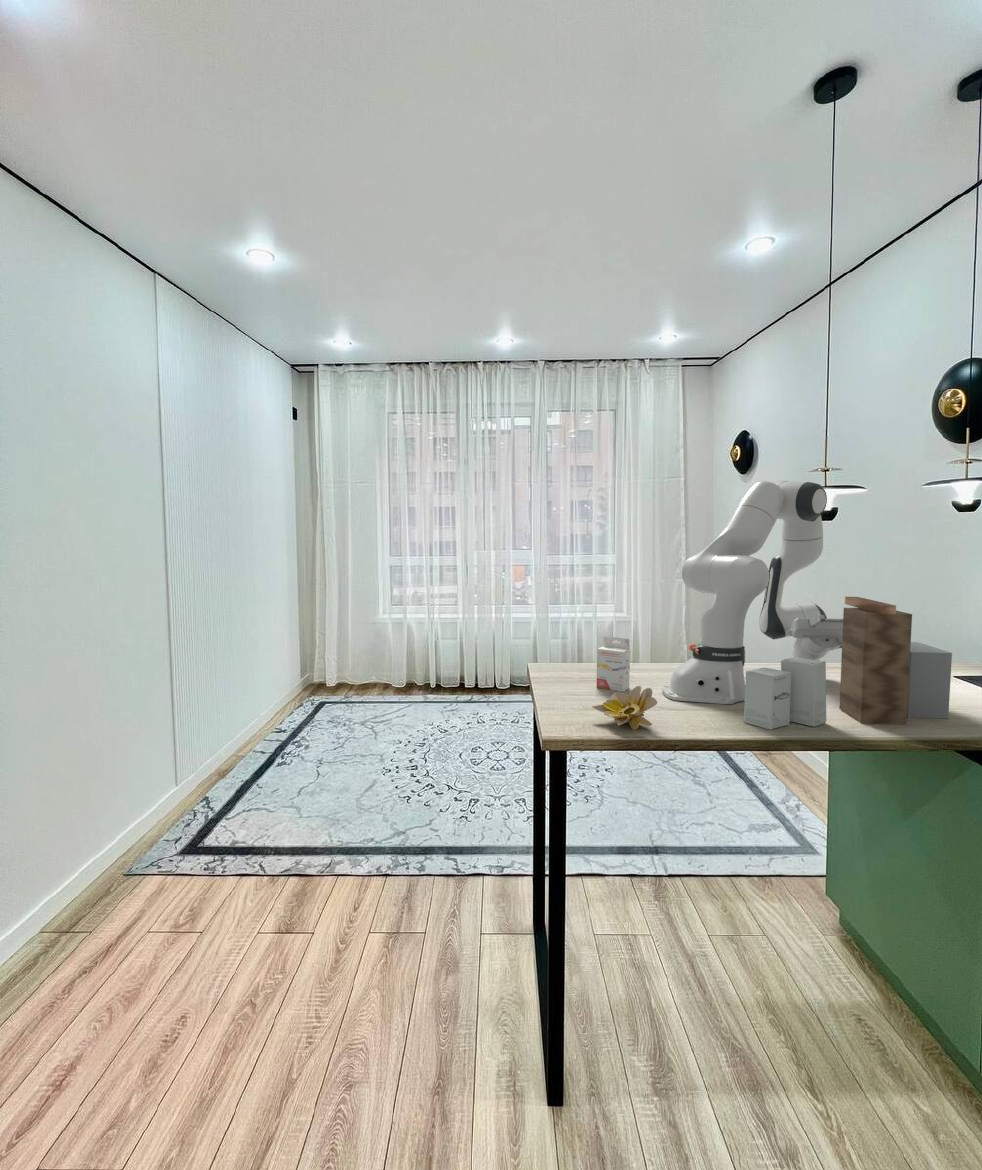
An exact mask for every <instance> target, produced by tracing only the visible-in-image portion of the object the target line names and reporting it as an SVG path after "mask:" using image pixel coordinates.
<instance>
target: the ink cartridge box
mask: <svg viewBox="0 0 982 1170" xmlns="http://www.w3.org/2000/svg"><path fill="white" fill-rule="evenodd" d="M616 641H617V642H620V643H616ZM596 651H597V653H596V688H597V689H604V690H609V689H610V691H615V690H617V691H616V692H622V691H624V692H625V691H626V690H628V689H630V676H631V675H630V671H631V670H630V669H631V668H630V667H631V664H630V663H631V661H630V660H631V659H630V658H631V649H630V639H629V638H628V637H627V638H626V637H624V638H623V637H619V636H618V637H617V636H615V637H614V636H606V635H604V636H603V646H601V647H598V648H597V650H596Z"/></svg>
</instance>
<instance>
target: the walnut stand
mask: <svg viewBox="0 0 982 1170" xmlns="http://www.w3.org/2000/svg"><path fill="white" fill-rule="evenodd" d="M842 617H843V618H842V619H843V635H842V648H841V660H840V661H841V662H840V682H839V683H840V685H839V688H840V689H839V706H838V707H839V710H840V709H841V710H840V711H842V712H844V713H845V714H846V715H848V716H849V717H851V718H852V719H853V720H855V721H857V722H858V723H860V724H874V725H877V724H878V725H900V726H901V725H902V726H903V725H904V726H905V725H907V722H908V717H907V705H908V686H909V666H910V647H911V642H912V624H913V623H912V622H913V613H908V612H904V611H900V610H896V614H880V613H876V612H873V611H869V610H865V609H861V608H857V607H843V615H842Z"/></svg>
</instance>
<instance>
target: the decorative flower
mask: <svg viewBox="0 0 982 1170" xmlns="http://www.w3.org/2000/svg"><path fill="white" fill-rule="evenodd" d="M642 689H643V686H640V685H638V686H635V687H634V688H633V689H631V690H630V691H629V694H627V693H623V692H620V691H615V692H613V693H612V694H611V695H610V696H611V697H610V699H605V701H604V702H602V704H599V705H592V706H591V708H592V709H595V710H597V711H599V712H601V713H603V715H604V716H607V717H609V718H611V719H614V718H615V722H616V723H617V725H618V726H621V725H624V724H626V723H628V724H629V726H630V728H631V730H634V731H636V730H637V729H639V727H640V726H639V725H642V726H644V727H650V726H652V725H654V724H653V723H652V722H651V721H649V719H646V718H645V717H644V716H645V714H646V713H645V712H646V711H648V710H651V709H652V708H653V707H655V706H656V705H657V704H658V701H657V699H656V698H655V697H652V696H653V689H652V688H651V687H646V688H645V689H643V690H642Z"/></svg>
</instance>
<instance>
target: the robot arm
mask: <svg viewBox="0 0 982 1170" xmlns="http://www.w3.org/2000/svg"><path fill="white" fill-rule="evenodd" d="M827 503H828V497H827V492H826V489H824V488H823V486H822V485H821V484H819V483H818V482H817V483H816V482H810V481H806V482H804V481H803V482H802V481H791V480H778V481H777V480H776V481H767V480H762V481H758V482H755V483H754V484H752V486H751V487H750V488H749V489H748V490H747V491H746V492H745V493H744V495H743V496H742V498H741V499H740V500H739V502H738V504H737V506H736V507H735V509H734V511H733V512H732V515H731V516H730V518H729V520H728V521H727V523H726V525H725V526H724V528H723V529H722V531H721V532H720V533H719V534H718V535H717V536H716V537H715V538H714V539H713V541H711V542H710V544H708V545H707V546H706V547H705V548H704V549H702V550H700V551H699V552H698V553H696V554H695V555H693V556H690V557H688V558H687V559H686V560H685V561H684V563H683V565H682V568H681V578H682V581H683V583H684V585H685V587H687V588H688V589H692V590H694V591H697V592H698V593H702V594H703V593H704V594H712V595H716V596H715V601H714V604H713V606H711V608H710V609H708V610H707V611H705V612H703V614H702V616H701V618H700V639H699V640H700V643H698V644H695V643H689V645H688V650H690V651H691V652H692V657H690V658H689V659H688V660H686V661H685V662H683V663H682V664H680V665H679V666H678V667H676V668H675V669H674V670H673V671H672V675H671V679H670V684H665V685H664V686H663V687H662V692H661V693H662V695H664V696H665V697H666V698H667V699H670V700H673V701H682V702H695V703H696V702H697V703H706V704H707V703H708V704H718V705H719V704H720V705H732V704H735V703H737V702H743V701H745V681H746V679H745V675H744V673H745V672H744V671H745V670H744V667H745V662H746V650H745V649H746V647H745V646H744V633H745V632H744V630H745V621H746V617H747V616H746V615H747V613H748V610H749V608H750V606H751V604H752V602H754V600H755V599H756V598H757V597H758V596H760V594H762V593H763V592H764V597H763V603H762V608H761V610H760V614H759V619H758V624H759V629H760V631H761V633H762V634H763V635H765V636H766V637H768V638H769V639H771V640H778V639H784V638H786V637H793V638H795V640H794V641H795V642H794V643H793V645H792V648H791V653H792V655H793V656H792V657H796V658H803V659H810V660H819V661H820V660H821V659H822V658H824V657H825V655H827V653H829V652H830V651H834V650H838V649H839V650H840V649H842V635H843V618H828V617H827V615H826V612H825V611H824V610H823V609H822V608H821V607H820V606H819V605H818V604H817V603H814V602H802V603H795V604H789V605H781V604H782V599H783V593H784V586H785V582H786V581H787V580H788V579H789V578H790V577H791V576H792V575H794V574H795V573H797V572H799V571H801V570H803V569H805V568H808V567H809V566H811V565H813V564H814V563H815V562H816V561H817V560H818V559H819V558H820V557H821V555H822V553H823V548H824V529H823V519H822V515H823V513H824V511H825V510H826V507H827ZM777 519H778V520H782V527H781V529H782V531H781V534H782V535H781V537H782V538H781V539H782V540H781V545H780V547H779V550H778V552H777V554H776V555H775V556H774V557H773V558H772V559H771V561H770V563H769V568H768V566H767V564H766V563H765V562H764V561H763V560H762V559H759V558H757V557H753V556H751V555H753V554H756V553H757V552H759V551H760V550H762V548H763V546H764V544H765V543H766V541H767V539H768V538H769V535H770V534H771V532H772V530H773V527H774V526H775V524H776V522H777Z"/></svg>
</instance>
